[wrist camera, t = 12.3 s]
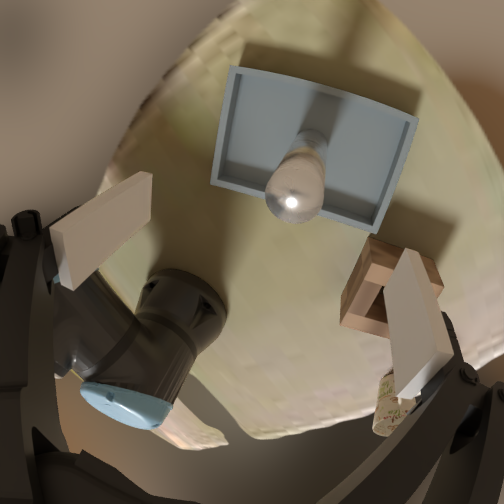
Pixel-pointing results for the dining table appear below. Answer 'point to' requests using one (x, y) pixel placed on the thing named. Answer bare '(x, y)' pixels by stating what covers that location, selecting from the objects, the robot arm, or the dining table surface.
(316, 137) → the steel pin
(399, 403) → the mug
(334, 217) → the slate tray
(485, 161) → the dining table surface
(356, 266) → the wooden hollow square frame
